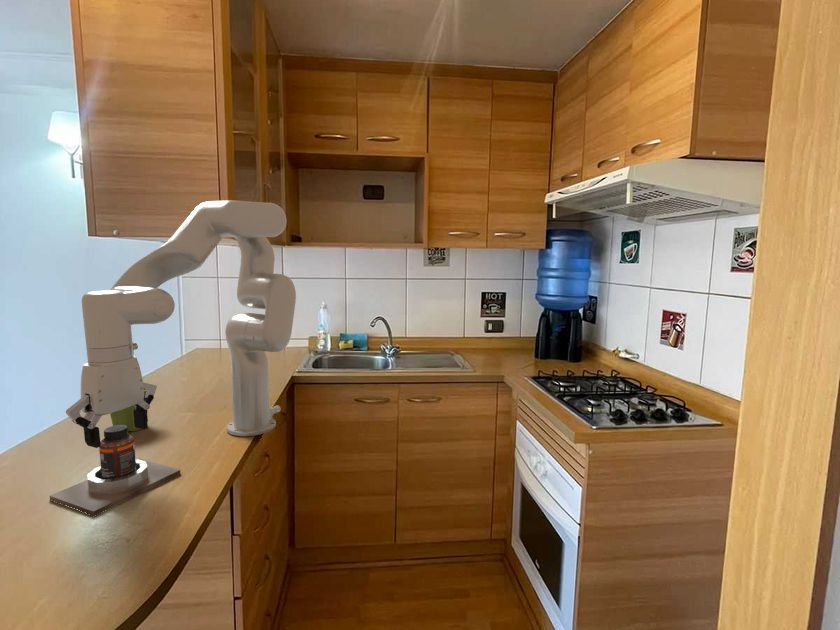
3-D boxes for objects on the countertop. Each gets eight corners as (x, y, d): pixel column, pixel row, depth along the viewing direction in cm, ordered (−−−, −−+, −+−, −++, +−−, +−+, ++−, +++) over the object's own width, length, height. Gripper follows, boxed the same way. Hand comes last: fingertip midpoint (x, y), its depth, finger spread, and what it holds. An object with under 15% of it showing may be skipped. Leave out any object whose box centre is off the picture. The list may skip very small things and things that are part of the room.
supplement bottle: (143, 474, 97) (139, 422, 95) (126, 488, 91) (122, 433, 90) (113, 474, 97) (110, 422, 95) (95, 488, 91) (90, 433, 89)
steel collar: (126, 466, 100) (125, 455, 100) (158, 476, 96) (157, 464, 96) (76, 487, 91) (75, 475, 91) (110, 499, 87) (109, 486, 87)
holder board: (139, 462, 105) (139, 458, 104) (180, 474, 100) (180, 469, 99) (49, 500, 88) (49, 495, 88) (93, 516, 83) (93, 511, 83)
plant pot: (145, 435, 120) (142, 393, 118) (95, 437, 118) (91, 394, 117) (162, 419, 132) (160, 381, 130) (117, 421, 130) (114, 382, 128)
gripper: (139, 343, 100) (146, 419, 102) (49, 361, 84) (59, 450, 87) (163, 346, 97) (170, 424, 99) (75, 366, 81) (85, 458, 84)
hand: (118, 436), depth 93 cm, fingers open, 9 cm apart
